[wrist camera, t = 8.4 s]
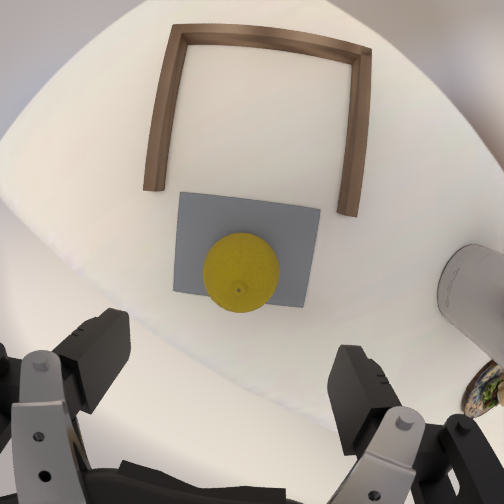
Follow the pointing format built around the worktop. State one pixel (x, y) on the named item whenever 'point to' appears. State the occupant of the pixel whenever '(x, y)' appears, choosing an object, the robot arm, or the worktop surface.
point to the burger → (485, 390)
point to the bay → (269, 40)
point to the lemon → (241, 272)
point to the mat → (245, 221)
